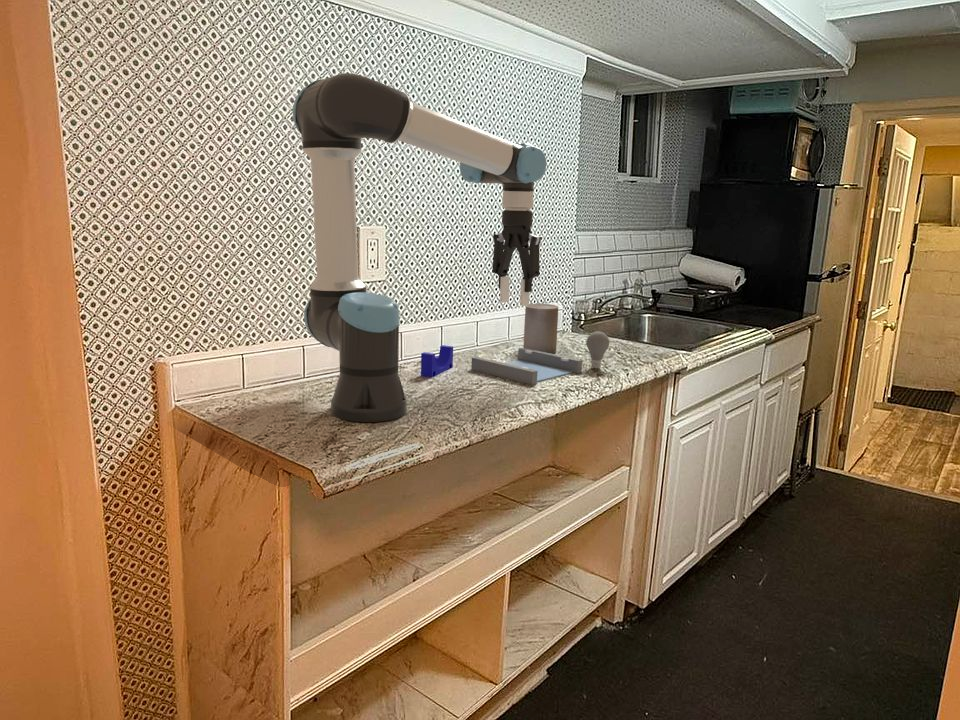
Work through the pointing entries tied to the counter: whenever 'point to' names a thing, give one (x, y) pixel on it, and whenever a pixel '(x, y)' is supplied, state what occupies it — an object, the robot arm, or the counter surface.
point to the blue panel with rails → (529, 366)
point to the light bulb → (597, 347)
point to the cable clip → (437, 362)
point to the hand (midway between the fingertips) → (514, 303)
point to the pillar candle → (541, 327)
